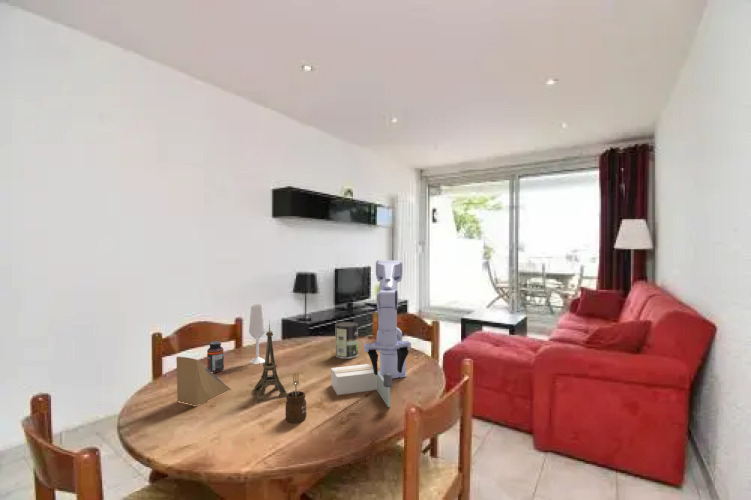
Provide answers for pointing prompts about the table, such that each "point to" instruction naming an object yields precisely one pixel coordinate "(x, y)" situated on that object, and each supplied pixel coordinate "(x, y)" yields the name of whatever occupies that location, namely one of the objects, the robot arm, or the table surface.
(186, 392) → the sandwich container
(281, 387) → the eiffel tower
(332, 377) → the carton
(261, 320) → the champagne flute
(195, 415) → the table surface
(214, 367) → the supplement bottle
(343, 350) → the coffee can
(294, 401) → the utensil holder
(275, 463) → the table surface
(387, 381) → the flap
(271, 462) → the table surface
